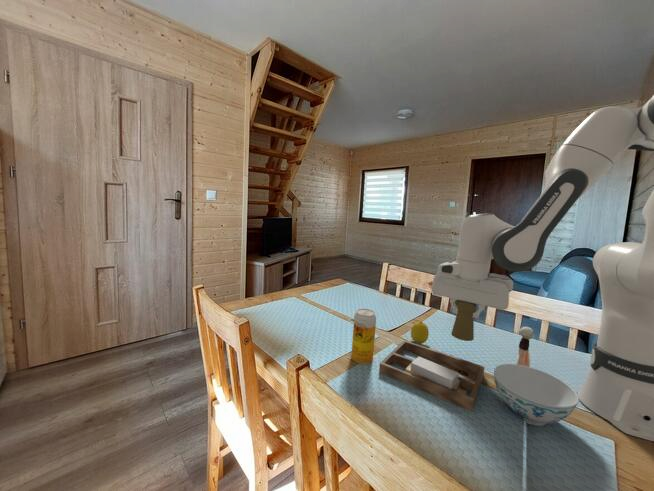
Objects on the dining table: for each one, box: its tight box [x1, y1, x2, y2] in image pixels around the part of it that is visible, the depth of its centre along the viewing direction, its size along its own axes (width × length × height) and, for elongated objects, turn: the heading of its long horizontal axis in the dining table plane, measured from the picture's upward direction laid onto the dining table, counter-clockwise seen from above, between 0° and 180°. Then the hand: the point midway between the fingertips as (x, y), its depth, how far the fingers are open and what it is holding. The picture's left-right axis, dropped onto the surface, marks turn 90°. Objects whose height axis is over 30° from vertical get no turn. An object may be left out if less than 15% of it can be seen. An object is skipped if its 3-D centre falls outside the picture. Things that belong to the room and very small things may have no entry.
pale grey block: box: [404, 364, 460, 392], centre depth 70 cm, size 12×4×2 cm, turn 53°
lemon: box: [410, 320, 429, 344], centre depth 93 cm, size 6×6×8 cm
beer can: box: [350, 308, 377, 364], centre depth 80 cm, size 6×6×15 cm
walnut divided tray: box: [378, 339, 486, 412], centre depth 74 cm, size 22×17×4 cm
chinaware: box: [493, 363, 580, 427], centre depth 63 cm, size 15×15×8 cm
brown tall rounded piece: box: [451, 300, 478, 342], centre depth 83 cm, size 6×6×11 cm
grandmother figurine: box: [516, 326, 534, 367], centre depth 81 cm, size 8×4×13 cm, turn 155°
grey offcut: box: [410, 356, 459, 389], centre depth 70 cm, size 10×4×2 cm, turn 48°
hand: (465, 315), depth 83 cm, fingers closed on brown tall rounded piece, 4 cm apart
